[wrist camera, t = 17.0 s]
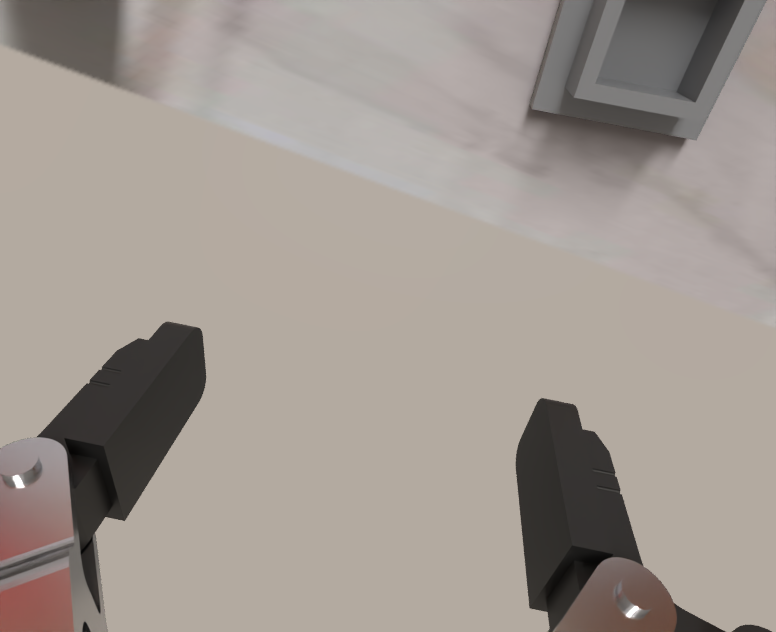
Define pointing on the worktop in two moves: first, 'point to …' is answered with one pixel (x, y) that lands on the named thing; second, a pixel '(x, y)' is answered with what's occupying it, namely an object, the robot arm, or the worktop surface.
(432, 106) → the worktop surface
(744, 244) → the worktop surface
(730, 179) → the worktop surface
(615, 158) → the worktop surface
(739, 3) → the housing
